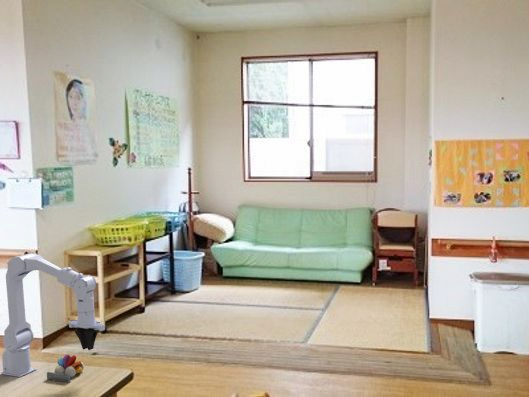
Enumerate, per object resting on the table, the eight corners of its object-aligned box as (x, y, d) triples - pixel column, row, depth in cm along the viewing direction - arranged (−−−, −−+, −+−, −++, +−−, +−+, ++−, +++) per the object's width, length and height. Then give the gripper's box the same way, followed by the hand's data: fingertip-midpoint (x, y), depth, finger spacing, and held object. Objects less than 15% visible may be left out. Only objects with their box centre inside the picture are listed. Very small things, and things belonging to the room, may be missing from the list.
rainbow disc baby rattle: (75, 379, 201) (74, 359, 201) (50, 378, 203) (49, 358, 203) (87, 370, 209) (86, 351, 209) (63, 369, 211) (62, 350, 211)
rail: (47, 379, 202) (46, 372, 202) (48, 378, 202) (48, 371, 202) (68, 383, 198) (68, 376, 197) (70, 382, 198) (70, 375, 198)
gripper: (110, 309, 201) (111, 347, 202) (78, 306, 207) (80, 343, 208) (96, 314, 195) (98, 353, 196) (63, 311, 201) (66, 349, 202)
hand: (88, 348), depth 201 cm, fingers closed
